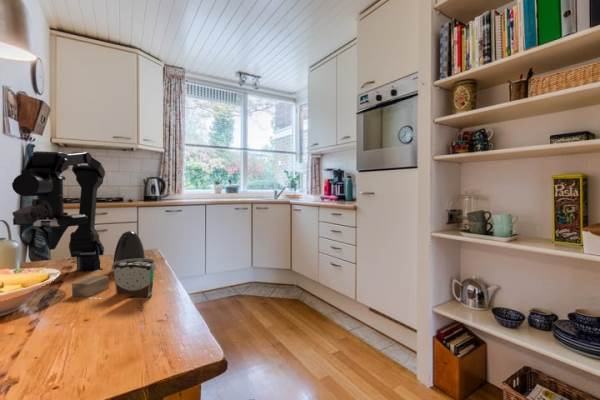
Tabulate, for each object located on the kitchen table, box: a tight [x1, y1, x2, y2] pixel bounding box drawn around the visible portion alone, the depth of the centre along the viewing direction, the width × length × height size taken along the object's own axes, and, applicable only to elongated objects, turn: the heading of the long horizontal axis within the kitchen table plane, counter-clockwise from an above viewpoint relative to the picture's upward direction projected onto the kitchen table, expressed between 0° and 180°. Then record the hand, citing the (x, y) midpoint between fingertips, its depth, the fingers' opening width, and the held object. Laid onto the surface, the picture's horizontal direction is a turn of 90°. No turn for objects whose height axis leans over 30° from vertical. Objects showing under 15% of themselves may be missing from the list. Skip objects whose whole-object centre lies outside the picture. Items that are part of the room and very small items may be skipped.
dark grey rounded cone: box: [112, 230, 146, 263], centre depth 104 cm, size 10×10×15 cm
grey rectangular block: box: [71, 275, 110, 298], centre depth 82 cm, size 5×7×4 cm
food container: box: [110, 258, 158, 300], centre depth 83 cm, size 12×6×10 cm, turn 85°
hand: (52, 249), depth 83 cm, fingers closed
